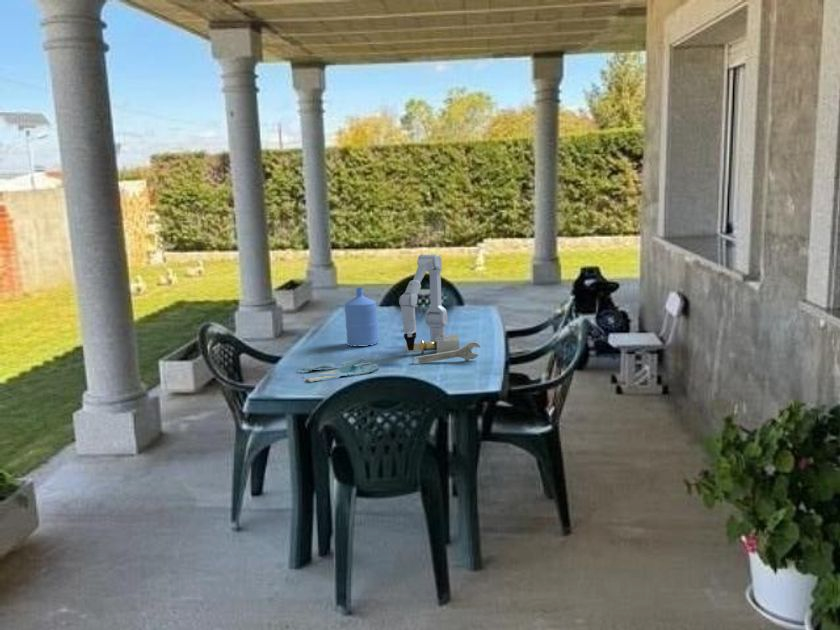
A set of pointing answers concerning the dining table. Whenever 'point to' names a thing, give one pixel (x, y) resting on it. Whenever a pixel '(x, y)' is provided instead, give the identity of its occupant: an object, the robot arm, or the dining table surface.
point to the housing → (447, 343)
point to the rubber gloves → (344, 369)
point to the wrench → (451, 354)
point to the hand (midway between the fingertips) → (410, 349)
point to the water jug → (361, 320)
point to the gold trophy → (424, 346)
